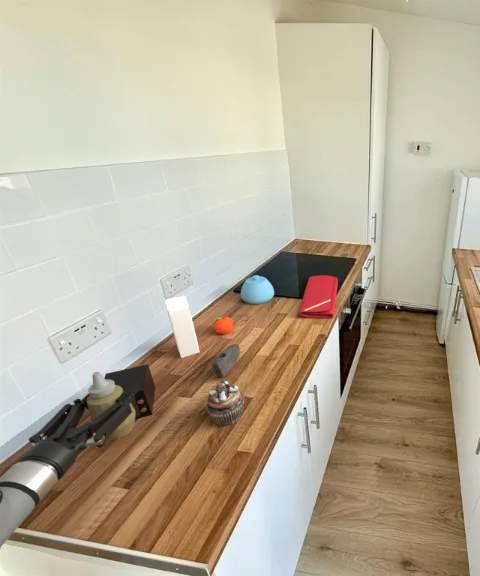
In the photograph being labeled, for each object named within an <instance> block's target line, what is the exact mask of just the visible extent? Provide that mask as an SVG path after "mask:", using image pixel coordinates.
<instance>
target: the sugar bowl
mask: <svg viewBox="0 0 480 576" xmlns="http://www.w3.org/2000/svg"><path fill="white" fill-rule="evenodd" d="M274 296H275V289H274V286H273V285H272V283H271V281H269V280H268V279H267V278H266V277H264V276H262V275H261V276H260V275H257V274H255V275H252V276H251V277H247V279H245V281H244V282H243V285H242V287H241V289H240V299H241V300H242V301H244V302H245V303H247V304H250V305H261V304H265V303H268V302H269V301H271V300H272V299H273V297H274Z"/></svg>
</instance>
